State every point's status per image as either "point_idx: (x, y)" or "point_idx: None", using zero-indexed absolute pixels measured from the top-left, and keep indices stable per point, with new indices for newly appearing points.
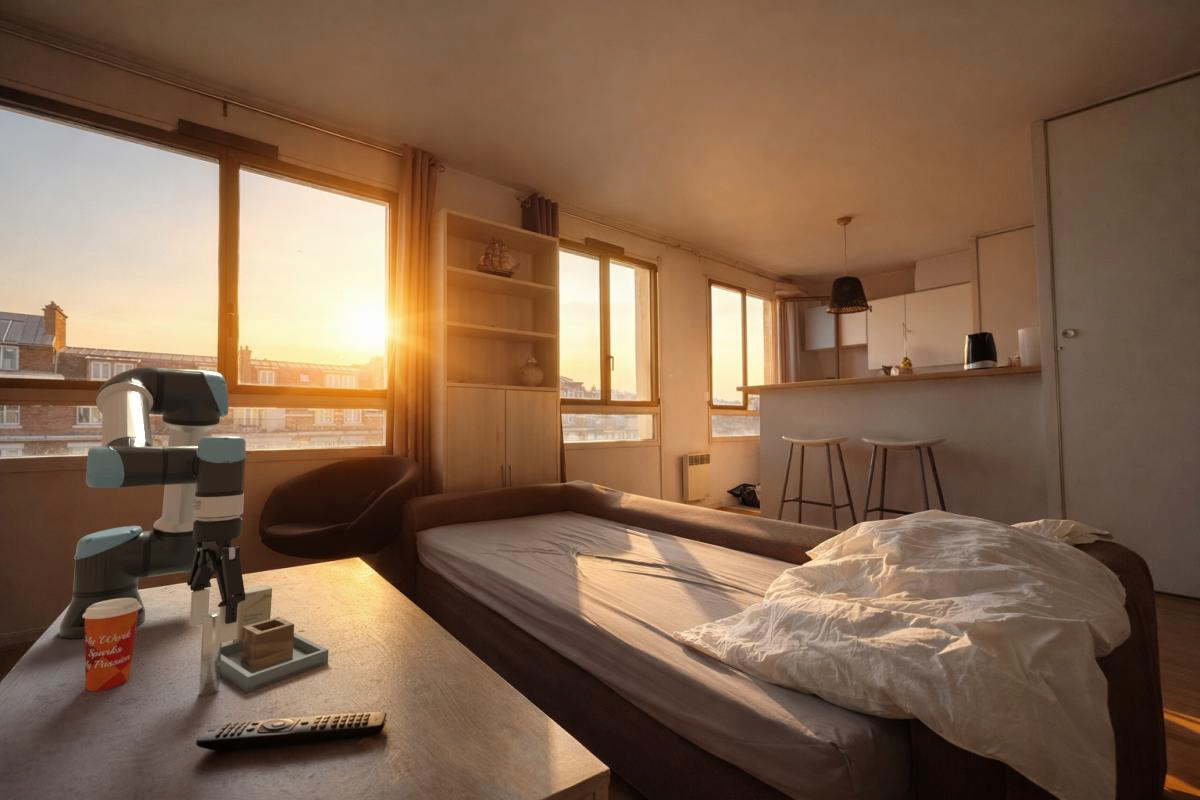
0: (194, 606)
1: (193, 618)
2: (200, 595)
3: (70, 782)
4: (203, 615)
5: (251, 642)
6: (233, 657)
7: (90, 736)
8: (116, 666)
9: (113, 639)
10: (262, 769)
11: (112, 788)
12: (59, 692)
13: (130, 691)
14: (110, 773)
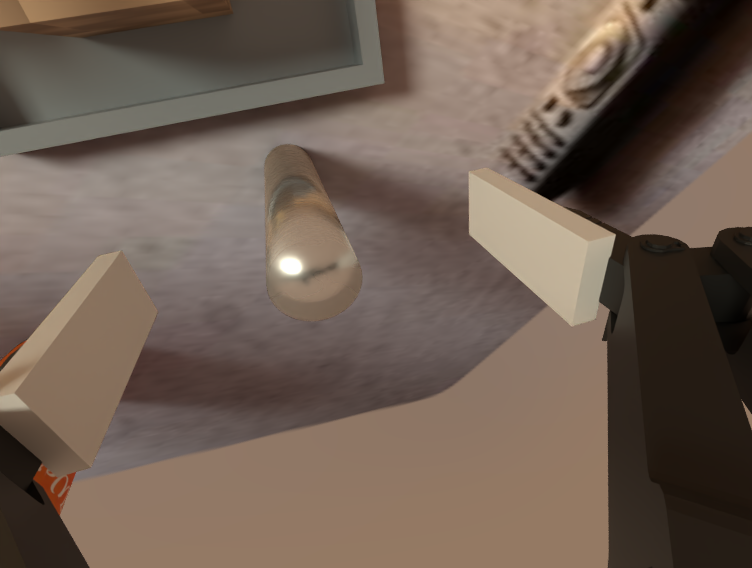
0: (123, 376)
1: (141, 330)
2: (75, 406)
3: (482, 347)
4: (116, 294)
5: (156, 12)
6: (10, 54)
7: (354, 350)
8: None
9: (61, 476)
10: (696, 132)
11: (542, 306)
12: None
13: (157, 322)
14: (502, 312)
